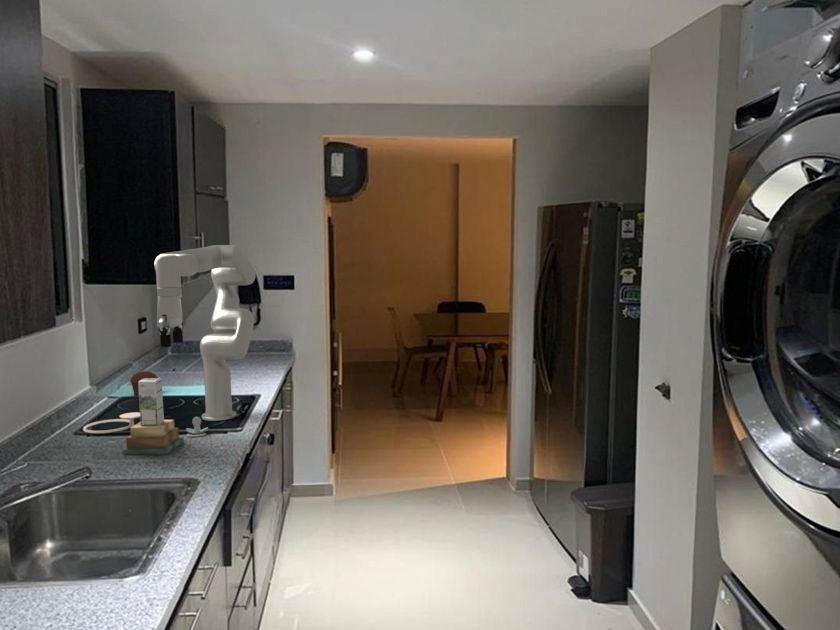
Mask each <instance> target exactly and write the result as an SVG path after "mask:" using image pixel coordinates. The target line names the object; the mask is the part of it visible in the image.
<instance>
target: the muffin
mask: <svg viewBox="0 0 840 630" xmlns="http://www.w3.org/2000/svg"><path fill="white" fill-rule="evenodd" d="M144 378H159V377H158V375H156V374H155V373H154V372H151V371H139V372H136V373H135V374H133V375H132V377H130V379H129V382H130V383H131V386H132V392H133V395H134V396H139V389H138V382H139V381H140V380H141V379H144Z"/></svg>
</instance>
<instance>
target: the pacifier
mask: <svg viewBox="0 0 840 630" xmlns="http://www.w3.org/2000/svg"><path fill="white" fill-rule="evenodd" d="M191 423H192V425H193V428H189V427H186V428H185V431H186V432H188V433H187V434H186V437H189V438H196V437H197V438H198V437H204V436H206V435H207V433H206V431H207V430H208V429H209V427H208V426H207V427H204V428H202V429H201V423H202V418H201V417H200V416H195V417H193V418H192V421H191Z"/></svg>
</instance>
